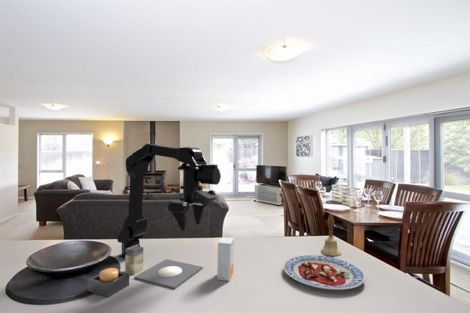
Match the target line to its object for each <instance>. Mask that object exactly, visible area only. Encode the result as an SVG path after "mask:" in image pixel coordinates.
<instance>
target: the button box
mask: <svg viewBox="0 0 470 313" xmlns="http://www.w3.org/2000/svg"><path fill="white" fill-rule="evenodd" d="M86 285H87V289H89V290H91V291H92V293H91V294H94V295H97V296H100V297H103V298H106V299H108V298H110V297H111V296H113V295H115V294H116V293H118V292H120V291H121V290H124V289H126V288H127V287H129V286H130V274H129V273H125V271H124V272H123V271H120V270H118V278H117V279H115V280H113V281H111V282H109V283H106V282H102V281H100V273H99V274H96V275H94V276H92V277H91V278H90V277H89V278H88V279H87V284H86ZM87 289H86V290H87Z"/></svg>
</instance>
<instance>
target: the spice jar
mask: <svg viewBox="0 0 470 313" xmlns="http://www.w3.org/2000/svg"><path fill="white" fill-rule="evenodd" d="M124 262H125V263H124V264H125V271H124V273H128V274H129V275H133V276H136V275H138V274H140V273H141V272H143V271H144V247H143V246H141V245H140V246H135V245H134V246H132V247H129V248H127V249H126V258H125V261H124Z"/></svg>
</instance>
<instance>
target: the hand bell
mask: <svg viewBox="0 0 470 313" xmlns="http://www.w3.org/2000/svg"><path fill="white" fill-rule="evenodd" d="M327 226H328V237H327V238H325V239H324V245H323V247H322V248H321V249H320V253H321V252H322V254H323V255H325V254H326V256H329V257H331V256H332V257H337V256H338V255H339V256H341V255H342V254H341V253H342V251H341V250H340V249H339V247H338V242H337V239H336V238H334V226H335V218H334V216H333V213H329V215H328V217H327ZM340 254H341V255H340Z"/></svg>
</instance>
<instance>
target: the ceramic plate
mask: <svg viewBox="0 0 470 313" xmlns="http://www.w3.org/2000/svg"><path fill="white" fill-rule="evenodd" d="M283 263H284V264H283V270H284V272H285V273H286V274H287V276H289V277H290V278H291V279H293V280H295V281H297V282H299V283H300V284H304V285H306V286H310V287H313V288H318V289H324V290H334V291H342V290H351V289H355V288H357V287H360V286H362V285H363V284H364V282H365V278H366V277H365V274H364V272H363V271H362V270H361V269H360V268H359V267H357V266H355V265H354V264H352V263H349V262H347V261H345V260H342V259H338V258H334V257H331V256H327V255H326V256H324V255H315V254H313V255H310V254H308V255H307V254H306V255H298V256H294V257H291V258H288V259H287V260H286V261H285V262H283Z"/></svg>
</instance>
